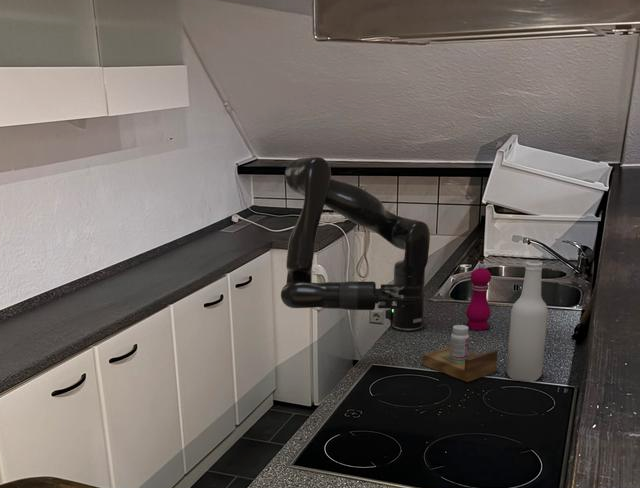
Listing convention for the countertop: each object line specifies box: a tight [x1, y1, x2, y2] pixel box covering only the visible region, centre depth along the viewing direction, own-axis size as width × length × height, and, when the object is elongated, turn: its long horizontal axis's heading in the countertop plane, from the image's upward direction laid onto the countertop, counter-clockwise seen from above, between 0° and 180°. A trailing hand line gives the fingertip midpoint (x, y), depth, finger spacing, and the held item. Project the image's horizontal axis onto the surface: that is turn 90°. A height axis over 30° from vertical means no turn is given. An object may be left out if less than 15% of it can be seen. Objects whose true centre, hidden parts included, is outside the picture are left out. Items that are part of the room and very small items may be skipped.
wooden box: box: [422, 345, 499, 383], centre depth 202 cm, size 16×11×6 cm
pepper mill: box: [465, 263, 492, 331], centre depth 231 cm, size 7×7×20 cm
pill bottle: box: [449, 324, 470, 360], centre depth 201 cm, size 5×5×8 cm
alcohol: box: [505, 260, 549, 382], centre depth 192 cm, size 9×9×30 cm
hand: (419, 296), depth 198 cm, fingers open, 8 cm apart
